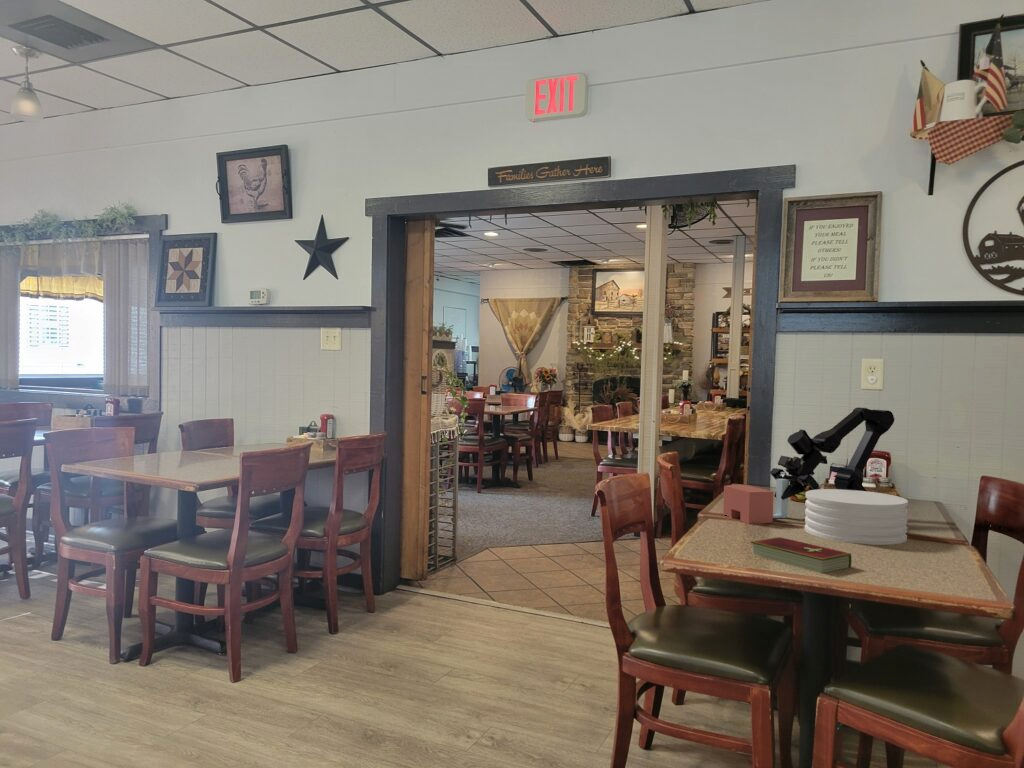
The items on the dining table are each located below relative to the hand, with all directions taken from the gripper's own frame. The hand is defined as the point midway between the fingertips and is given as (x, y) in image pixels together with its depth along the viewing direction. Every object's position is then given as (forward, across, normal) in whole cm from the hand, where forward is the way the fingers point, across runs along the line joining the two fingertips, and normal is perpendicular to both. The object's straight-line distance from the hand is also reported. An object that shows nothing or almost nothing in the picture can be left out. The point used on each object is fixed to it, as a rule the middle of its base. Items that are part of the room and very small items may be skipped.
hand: (778, 497), depth 247 cm
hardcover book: (+28, +50, -18) cm, 60 cm away
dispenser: (+13, 0, -4) cm, 14 cm away
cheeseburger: (-18, -26, +28) cm, 42 cm away
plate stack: (0, +26, +10) cm, 28 cm away
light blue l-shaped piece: (+7, 0, +2) cm, 8 cm away
